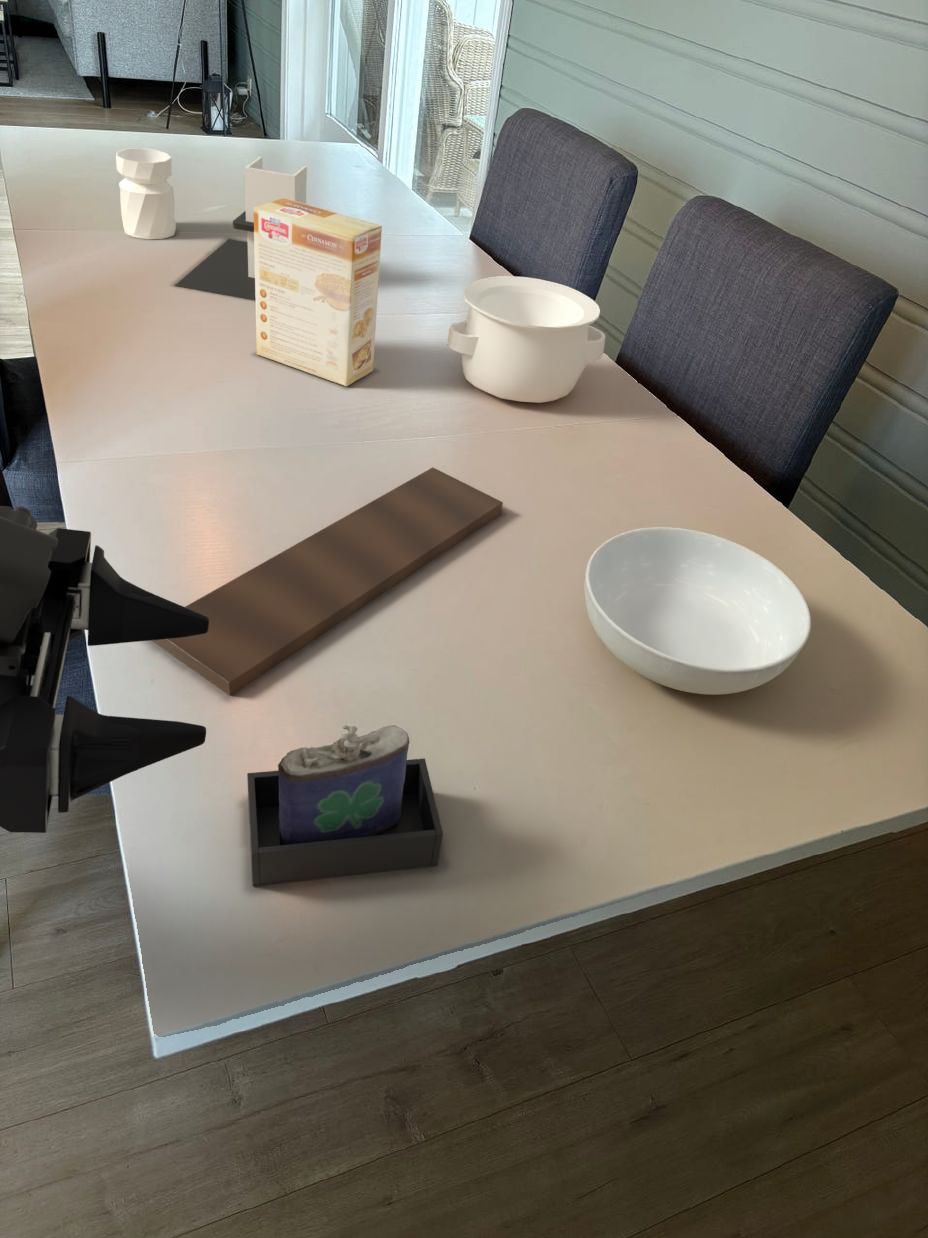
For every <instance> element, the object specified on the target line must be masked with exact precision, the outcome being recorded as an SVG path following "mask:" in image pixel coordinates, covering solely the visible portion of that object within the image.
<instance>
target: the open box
mask: <svg viewBox="0 0 928 1238" xmlns="http://www.w3.org/2000/svg"><path fill="white" fill-rule="evenodd" d="M246 775H247V776H246V779H247V801H248V802H247V803H248V805H247V806H248V823H249V842H250V843H249V844H250V846H249V847H250V863H251V883H252V885H251V887H260V886H261V887H262V886H270V885H279V884H287V883H288V884H289V883H297V882H305V881H315V880H322V879H323V880H325V879H332V878H341V877H349V876H359V875H367V874H376V873H377V874H378V873H385V872H394V871H403V870H413V869H421V868H422V869H423V868H429V867H430V868H431V867H438V866H439V859H440V853H441V848H442V842H443V837H444V832H443V828H442V824H441V820H440V815H439V812H438V807H437V803H436V799H435V795H434V789H433V786H432V783H431V782H432V781H431V778H430V774H429V770H428V765H427V761H426V758H423V757H422V758H411V759H407V761H406V772H405V781H404V785H403V796H402V805H401V817H400V819H399V821H398V824H396V826H395V827H394V828H392V829H391V830H390V831H388V832H387V833H385V834H381V835H377V836H368V837H358V838H348V839H338V840H329V841H319V842H309V843H299V844H290V845H280V842H279V841H280V840H279V837H280V834H279V825H280V821H279V773H278V770H269V771H257V772H247V773H246ZM279 845H280V846H279Z"/></svg>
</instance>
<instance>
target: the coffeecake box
mask: <svg viewBox="0 0 928 1238" xmlns="http://www.w3.org/2000/svg"><path fill="white" fill-rule="evenodd" d="M382 229H383V225H380V224H377V223H373V222H371V221H368V220H367V221H366V220H363V219H359V218H356V217H352V216H349V215H346V214H342V213H338V212H336V211H331V210H328V209H325V208H321V207H318V206H314V205H312V204H308V203H306V204H304V203H301V202H297V201H294V200H291V199H288V198H283V199H279V200H276V201H273V202H270V203H267V204H263V205H260V206H257V207H254V253H255V298H256V300H255V337H256V338H255V341H256V342H255V343H256V344H255V345H256V355H257V356H259V357H263V358H266V359H269V360H272V361H274V362H277V363H279V364H283V365H285V366H289V367H291V368H294V369H297V370H300V371H302V372H305V373H308V374H311V375H313V376H315V377H319V378H321V379H324V380H327V381H330V382H333V383H336V384H338V385H340V386H344V387H348V386H350V385H352V384H353V383H355V382H356V381H359V380H360V379H362V378H364V377H366V376H367V375H369V374H370V373H372V372H373V371H374V362H375V361H374V359H375V345H376V328H377V312H378V309H377V308H378V297H379V294H378V293H379V281H380V280H379V279H380V265H381V249H382V248H381V247H382V245H381V244H382Z"/></svg>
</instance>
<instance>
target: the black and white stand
mask: <svg viewBox="0 0 928 1238" xmlns="http://www.w3.org/2000/svg"><path fill="white" fill-rule="evenodd" d="M307 171H308V166H307V165H303V166H302V167H301V168H300V169H298V170H297V171H295V172H294V174H289V173H283V172H278V171H272V170H267V169H263V156H258V157H257V158H256V159H254V160H253V161H252V162H250V163H248V164H247V165H245V166H244V201H245V202H244V204H245V205H244V206H245V210H244V211H243V212H242V213H241V214H240V215H238V216H237V217H236V218H234V219H233V220H232V228H233V229H234V230H238V231H245V232H246V234H247V235H246V237H247V238H246V239H247V241H244V240H238V239H232V238H228V239H227V240H226V241H225V242H223V243H222V244H221V245H220V246H219V247H218V248H216V249H215V250H214V251H212V252H211V254H209V255H208V256H207V257H206V258H205V259H203V260H202V261H201V262H200V263H199V264H198V265H197V266H195V267H194V268H193V269H192V270H190V272H188V274H187V273H186V275H185V276H184V277H182V279H180V280H179V281H178V282H177V283H175V285H174V287H179V288H186V289H190V290H191V289H192V290H197V291H201V292H202V291H203V292H207V293H208V292H209V293H213V294H219V295H224V296H230V297H236V298H241V299H247V300H251V301H256V298H255V253H254V207H257V206H260V205H263V204H267V203H270V202H273V201H276V200H279V199H283V198H288V199H291V200H294V201H297V202H301V203H304V204H307V178H308V177H307V176H308V174H307V173H308V172H307Z"/></svg>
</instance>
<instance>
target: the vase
mask: <svg viewBox="0 0 928 1238" xmlns="http://www.w3.org/2000/svg"><path fill="white" fill-rule="evenodd" d="M115 164H116V171H117V172H118V173H119V174H120V175H121V176H122V177H124V178H123V179H121V181H120V182H118V187H119V192H120V193H119V197H120V198H119V200H120V214H121V220H122V227H123V230H124V233H125V234H126V235H129V236H130V237H133V238H137V239H143V240H164V239H167V238H171V237H173V236H174V235H175V234H176V229H177V225H176V218H175V193H174V192H175V191H174V186H173V185H172V184H171V183H170V182H169V181H168V179H169V178H170V177H171V176H173V175H172V173H173V172H172V171H173V169H172V167H173V165H172V156H171V155H169V153H167V152H164V151H162V150H159V149H155V148H154V149H153V148H144V147H131V148H130V147H129V148H128V147H127V148H124V149H119V150H116V153H115Z"/></svg>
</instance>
